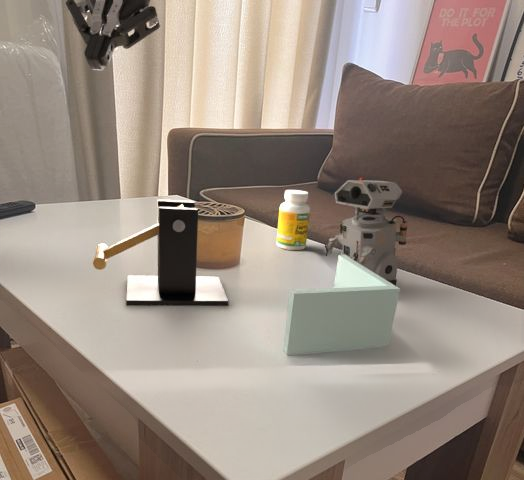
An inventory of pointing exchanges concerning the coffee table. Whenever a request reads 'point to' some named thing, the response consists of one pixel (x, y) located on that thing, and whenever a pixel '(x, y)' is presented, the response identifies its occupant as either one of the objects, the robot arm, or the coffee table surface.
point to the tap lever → (123, 245)
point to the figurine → (370, 226)
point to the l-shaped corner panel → (341, 312)
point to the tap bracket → (176, 264)
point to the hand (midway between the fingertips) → (94, 64)
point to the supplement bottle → (293, 220)
